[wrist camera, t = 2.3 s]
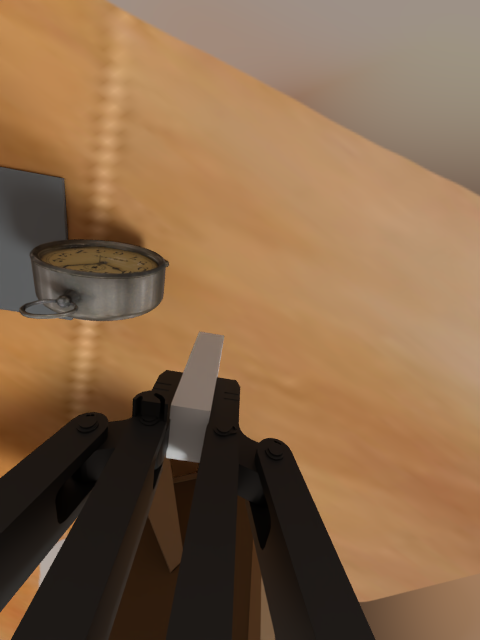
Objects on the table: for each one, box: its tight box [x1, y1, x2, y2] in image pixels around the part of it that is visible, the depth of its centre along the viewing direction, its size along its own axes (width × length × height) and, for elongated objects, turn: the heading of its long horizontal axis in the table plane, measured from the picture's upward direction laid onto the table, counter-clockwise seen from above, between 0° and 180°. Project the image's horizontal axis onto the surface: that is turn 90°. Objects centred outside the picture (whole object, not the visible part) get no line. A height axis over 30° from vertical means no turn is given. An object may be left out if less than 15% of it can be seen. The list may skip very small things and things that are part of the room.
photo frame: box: [108, 451, 275, 640], centre depth 32 cm, size 15×22×25 cm
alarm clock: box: [19, 239, 169, 321], centre depth 25 cm, size 11×5×16 cm, turn 79°
